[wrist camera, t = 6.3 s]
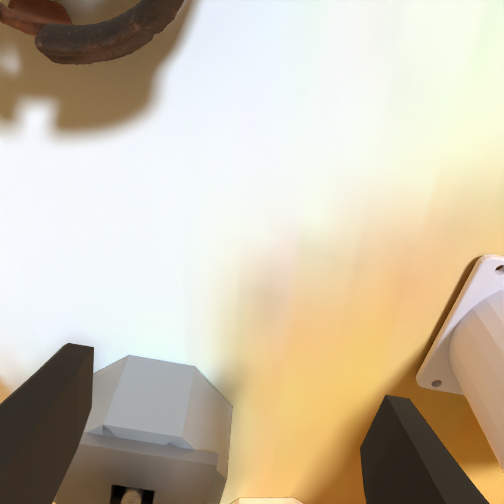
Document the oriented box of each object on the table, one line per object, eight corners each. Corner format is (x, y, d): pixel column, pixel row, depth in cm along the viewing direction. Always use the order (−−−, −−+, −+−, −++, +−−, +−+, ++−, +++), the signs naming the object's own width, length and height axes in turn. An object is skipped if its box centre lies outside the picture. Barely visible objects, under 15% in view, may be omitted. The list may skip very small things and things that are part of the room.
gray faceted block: (241, 374, 24) (236, 457, 20) (214, 472, 28) (205, 559, 24) (43, 340, 23) (-7, 418, 19) (45, 446, 27) (4, 531, 23)
